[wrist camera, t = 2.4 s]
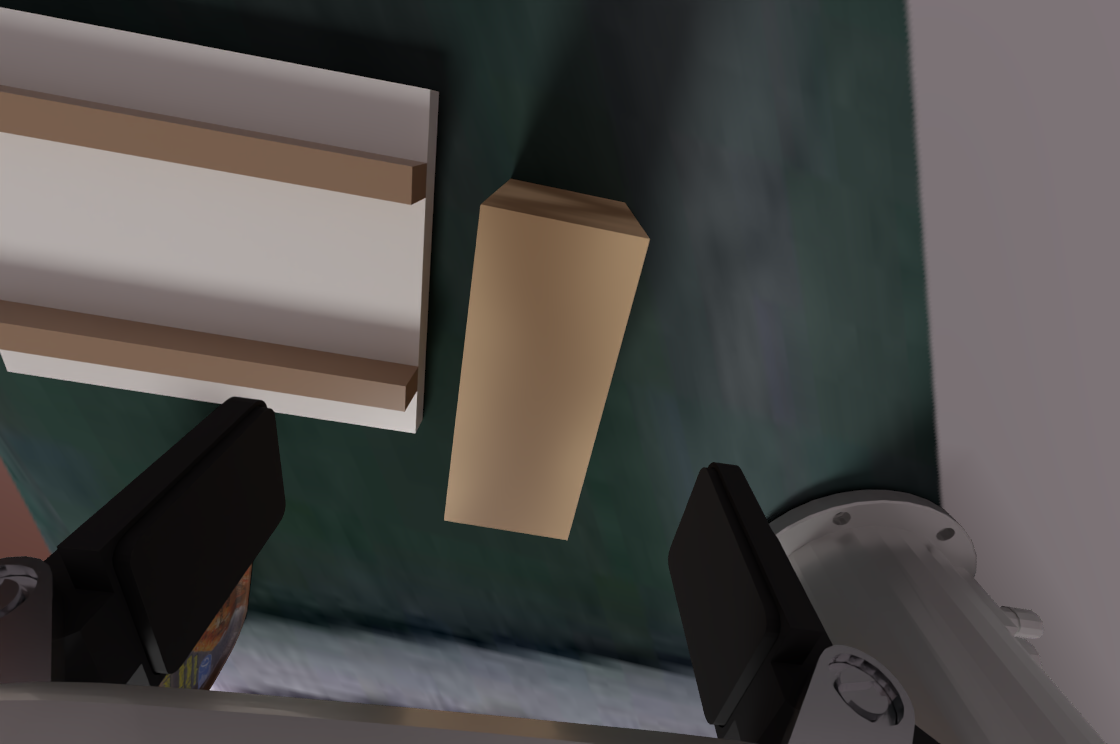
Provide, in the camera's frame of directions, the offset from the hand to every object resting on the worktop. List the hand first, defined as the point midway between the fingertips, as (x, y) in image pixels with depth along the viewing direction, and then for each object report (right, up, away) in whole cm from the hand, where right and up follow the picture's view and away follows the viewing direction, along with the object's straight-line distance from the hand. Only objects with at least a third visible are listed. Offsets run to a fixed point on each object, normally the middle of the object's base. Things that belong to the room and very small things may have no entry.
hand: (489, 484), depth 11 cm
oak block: (+1, +5, +11) cm, 12 cm away
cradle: (-13, +8, +9) cm, 18 cm away
